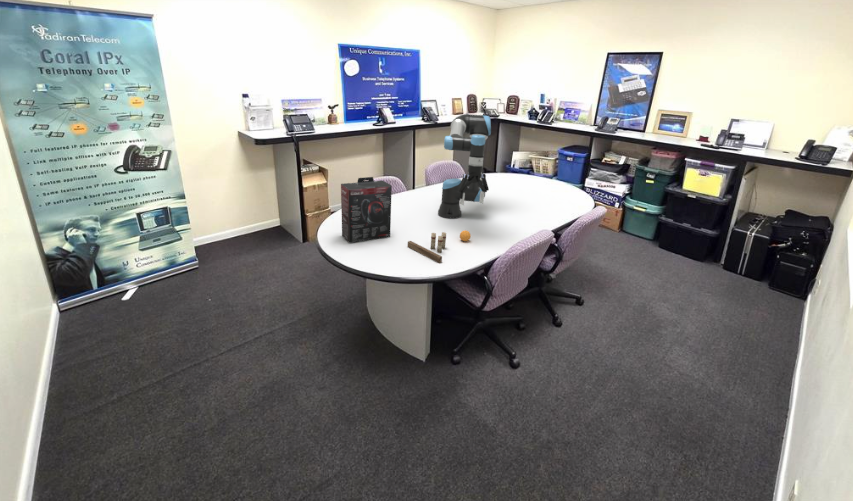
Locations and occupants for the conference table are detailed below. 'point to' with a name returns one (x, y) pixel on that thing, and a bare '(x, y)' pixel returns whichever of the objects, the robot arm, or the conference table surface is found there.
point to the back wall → (425, 251)
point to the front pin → (443, 240)
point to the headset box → (366, 210)
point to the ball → (465, 235)
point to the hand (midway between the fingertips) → (471, 203)
